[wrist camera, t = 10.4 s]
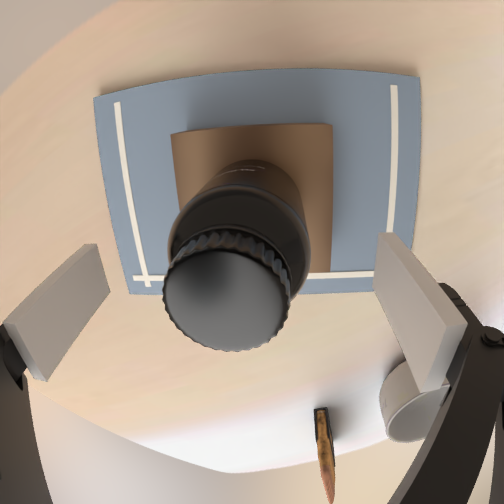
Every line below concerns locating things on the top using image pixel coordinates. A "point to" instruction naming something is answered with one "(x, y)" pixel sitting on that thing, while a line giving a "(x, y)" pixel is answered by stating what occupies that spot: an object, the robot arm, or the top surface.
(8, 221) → the top surface
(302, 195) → the walnut plinth
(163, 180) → the board
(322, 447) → the ammunition clip
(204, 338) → the supplement bottle
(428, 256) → the top surface
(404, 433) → the teacup
